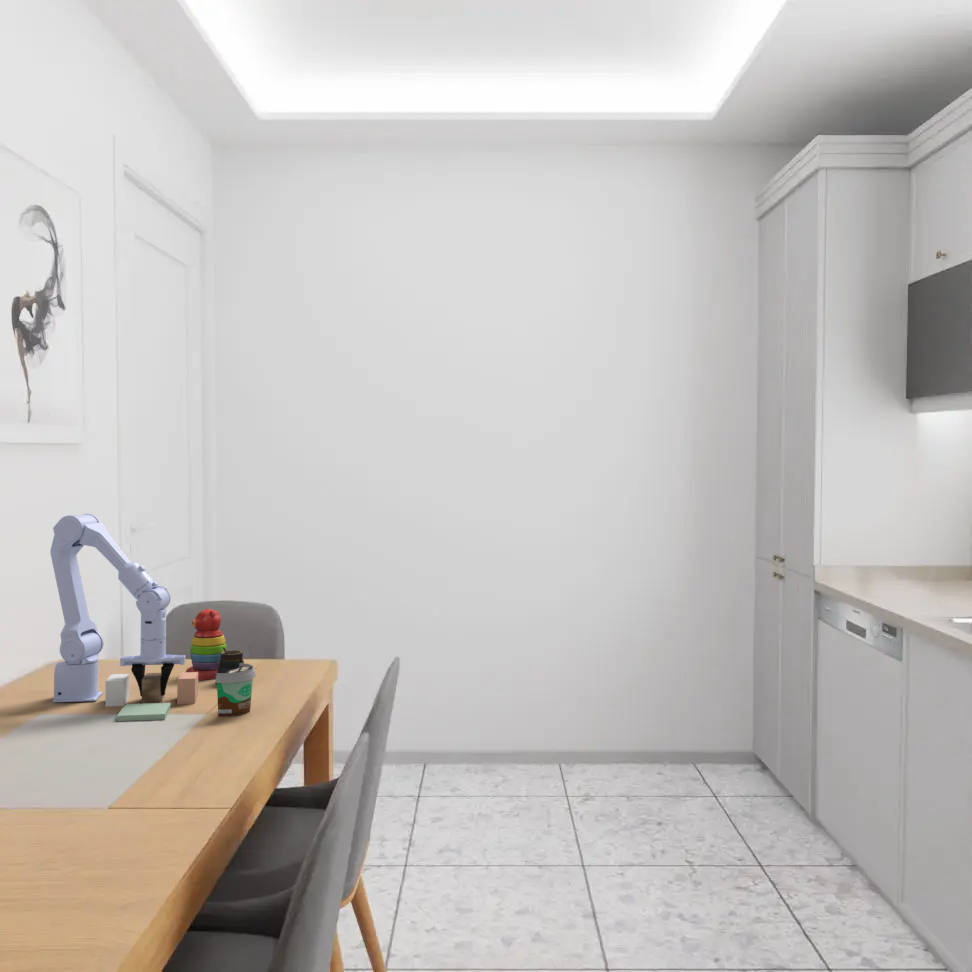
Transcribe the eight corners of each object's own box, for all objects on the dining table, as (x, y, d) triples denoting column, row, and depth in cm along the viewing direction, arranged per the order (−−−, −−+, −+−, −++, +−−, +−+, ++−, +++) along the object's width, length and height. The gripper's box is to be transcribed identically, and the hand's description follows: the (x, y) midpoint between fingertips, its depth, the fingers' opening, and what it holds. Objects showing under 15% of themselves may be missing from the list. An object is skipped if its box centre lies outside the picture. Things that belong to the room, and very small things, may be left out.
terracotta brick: (177, 704, 219) (177, 678, 219) (180, 696, 226) (181, 672, 226) (194, 703, 220) (195, 678, 220) (198, 696, 227) (198, 672, 226)
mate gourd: (250, 679, 245) (250, 642, 244) (239, 686, 237) (240, 648, 237) (223, 678, 245) (224, 640, 245) (212, 685, 238) (212, 646, 237)
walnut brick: (141, 705, 217) (141, 679, 217) (146, 697, 224) (146, 673, 224) (159, 704, 218) (159, 679, 218) (163, 697, 225) (163, 672, 225)
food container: (240, 720, 206) (241, 675, 206) (215, 718, 207) (215, 673, 207) (264, 706, 218) (265, 663, 218) (240, 704, 219) (240, 662, 219)
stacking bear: (184, 672, 251) (185, 607, 251) (222, 669, 256) (223, 605, 255) (189, 681, 242) (190, 613, 241) (229, 678, 246) (230, 611, 245)
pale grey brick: (105, 706, 216) (105, 681, 216) (111, 699, 223) (111, 674, 222) (123, 706, 216) (123, 680, 216) (128, 698, 223) (129, 673, 223)
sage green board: (117, 721, 203) (117, 715, 203) (125, 709, 213) (125, 704, 213) (164, 719, 205) (164, 714, 205) (170, 707, 215) (170, 702, 215)
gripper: (117, 642, 215) (117, 700, 216) (183, 640, 218) (182, 698, 219) (123, 636, 222) (123, 692, 223) (186, 635, 225) (186, 691, 225)
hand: (152, 695), depth 221 cm, fingers closed on walnut brick, 4 cm apart
